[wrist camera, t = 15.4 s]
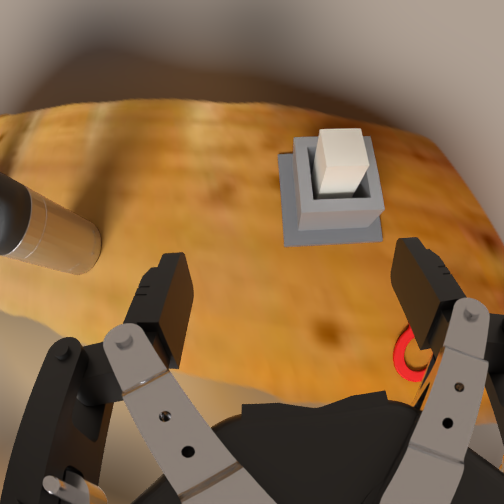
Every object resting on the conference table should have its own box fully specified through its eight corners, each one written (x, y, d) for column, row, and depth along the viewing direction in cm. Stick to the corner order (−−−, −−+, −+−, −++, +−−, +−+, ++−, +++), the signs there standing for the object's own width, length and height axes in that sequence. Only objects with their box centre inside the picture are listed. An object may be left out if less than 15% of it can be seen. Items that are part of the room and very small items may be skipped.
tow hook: (430, 384, 38) (450, 325, 39) (473, 408, 26) (498, 331, 27) (383, 373, 40) (404, 311, 41) (417, 398, 27) (445, 314, 28)
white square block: (313, 211, 44) (326, 166, 30) (310, 181, 45) (319, 129, 31) (344, 209, 43) (369, 165, 30) (340, 179, 44) (360, 128, 31)
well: (284, 247, 44) (284, 230, 35) (277, 156, 47) (276, 125, 38) (380, 241, 43) (402, 225, 34) (366, 154, 46) (381, 124, 37)
